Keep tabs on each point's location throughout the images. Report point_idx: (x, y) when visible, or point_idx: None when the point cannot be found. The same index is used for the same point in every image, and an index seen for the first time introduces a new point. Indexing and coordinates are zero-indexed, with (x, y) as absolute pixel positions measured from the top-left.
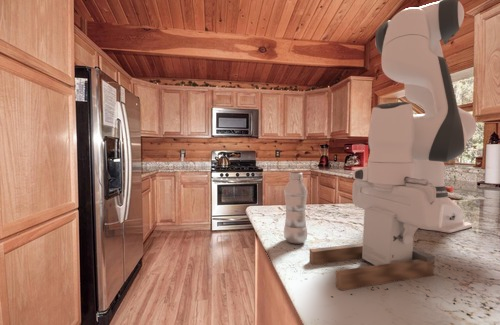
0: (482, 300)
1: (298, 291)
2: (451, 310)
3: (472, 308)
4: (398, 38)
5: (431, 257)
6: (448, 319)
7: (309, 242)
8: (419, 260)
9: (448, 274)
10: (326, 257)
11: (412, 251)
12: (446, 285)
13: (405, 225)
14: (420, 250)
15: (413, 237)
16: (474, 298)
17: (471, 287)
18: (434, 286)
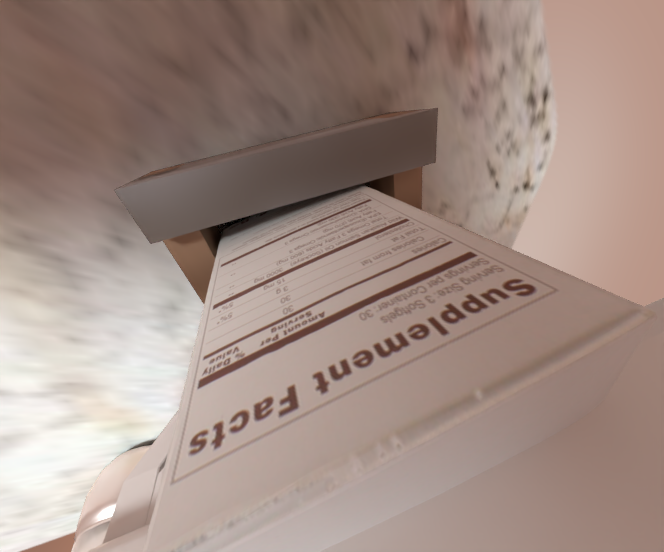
0: (525, 82)
1: None
2: (506, 212)
3: (524, 154)
4: None
5: (435, 133)
6: (514, 237)
7: (136, 429)
8: (402, 182)
9: (394, 24)
10: None
11: (370, 188)
12: (446, 127)
13: None
14: (362, 127)
15: (412, 206)
16: (511, 99)
17: (481, 29)
18: (438, 175)
